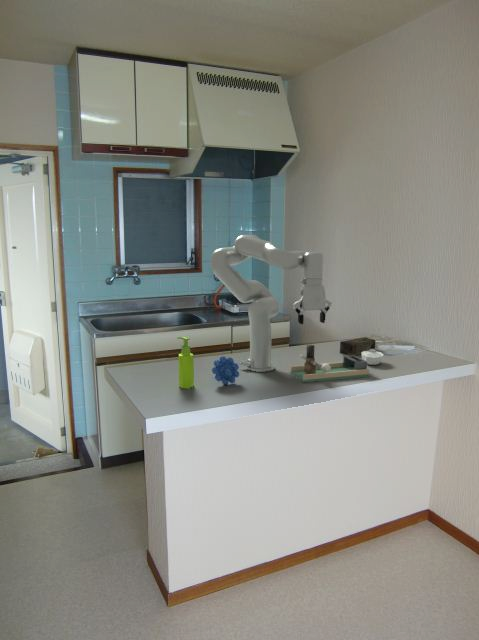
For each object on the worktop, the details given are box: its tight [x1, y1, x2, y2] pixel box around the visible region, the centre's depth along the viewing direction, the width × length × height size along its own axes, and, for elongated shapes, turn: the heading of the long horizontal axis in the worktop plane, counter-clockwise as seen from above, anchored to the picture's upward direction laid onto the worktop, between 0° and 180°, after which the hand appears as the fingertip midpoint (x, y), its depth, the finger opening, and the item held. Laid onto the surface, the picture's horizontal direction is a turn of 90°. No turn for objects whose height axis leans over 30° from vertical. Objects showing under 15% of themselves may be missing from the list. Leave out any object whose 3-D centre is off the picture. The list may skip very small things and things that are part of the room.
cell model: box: [361, 349, 384, 366], centre depth 236 cm, size 10×12×7 cm
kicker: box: [299, 344, 321, 374], centre depth 215 cm, size 3×19×12 cm, turn 17°
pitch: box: [289, 361, 369, 384], centre depth 219 cm, size 30×14×3 cm, turn 107°
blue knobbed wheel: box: [211, 355, 240, 386], centre depth 204 cm, size 12×7×12 cm, turn 112°
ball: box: [321, 362, 331, 373], centre depth 218 cm, size 4×4×4 cm
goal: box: [342, 354, 368, 370], centre depth 222 cm, size 6×11×6 cm, turn 17°
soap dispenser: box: [176, 336, 195, 389], centre depth 203 cm, size 6×7×20 cm
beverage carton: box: [339, 336, 376, 356], centre depth 258 cm, size 8×19×7 cm, turn 127°
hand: (311, 323), depth 213 cm, fingers open, 9 cm apart
